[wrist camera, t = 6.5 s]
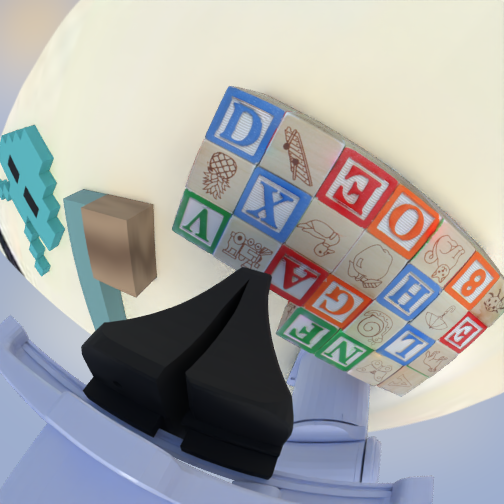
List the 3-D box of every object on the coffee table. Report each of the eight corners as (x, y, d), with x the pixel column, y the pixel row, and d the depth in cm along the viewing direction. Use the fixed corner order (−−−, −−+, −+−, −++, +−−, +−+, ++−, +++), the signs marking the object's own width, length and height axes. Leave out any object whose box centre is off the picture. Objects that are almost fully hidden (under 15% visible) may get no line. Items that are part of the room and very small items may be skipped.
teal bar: (131, 341, 35) (120, 354, 33) (111, 330, 36) (100, 342, 34) (107, 194, 24) (86, 204, 22) (83, 189, 25) (63, 198, 22)
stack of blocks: (262, 90, 16) (198, 228, 23) (228, 80, 11) (157, 265, 18) (486, 253, 16) (395, 345, 23) (519, 299, 11) (399, 399, 17)
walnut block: (158, 275, 27) (136, 297, 24) (116, 259, 28) (93, 278, 25) (154, 203, 23) (126, 220, 20) (108, 193, 24) (80, 207, 21)
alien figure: (50, 269, 36) (82, 196, 26) (41, 276, 34) (68, 203, 24) (1, 186, 32) (23, 97, 22) (-7, 190, 30) (11, 100, 20)
